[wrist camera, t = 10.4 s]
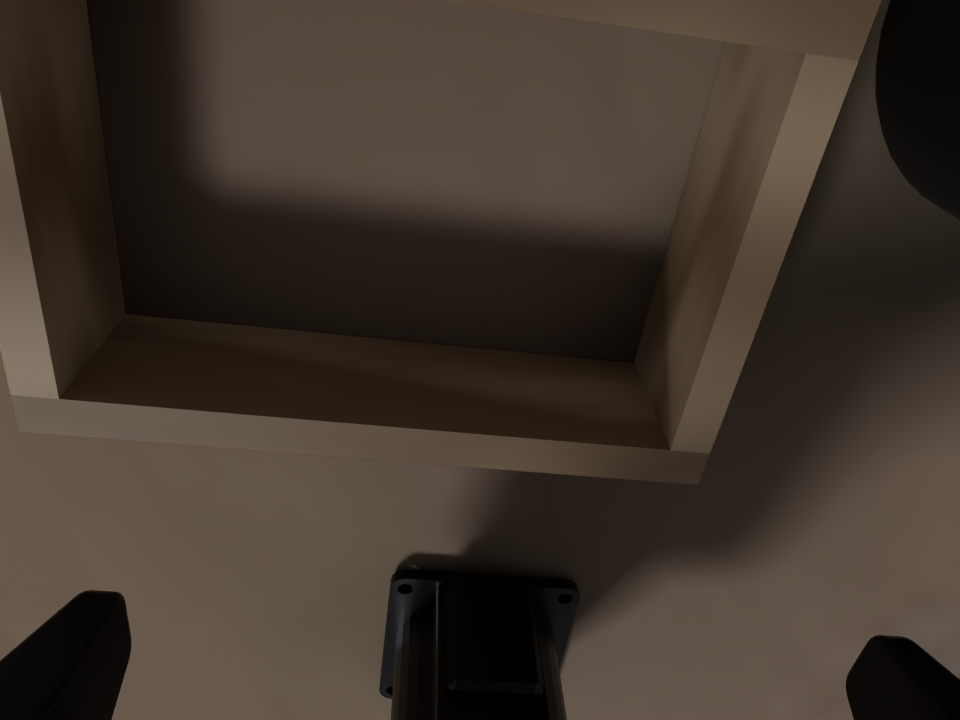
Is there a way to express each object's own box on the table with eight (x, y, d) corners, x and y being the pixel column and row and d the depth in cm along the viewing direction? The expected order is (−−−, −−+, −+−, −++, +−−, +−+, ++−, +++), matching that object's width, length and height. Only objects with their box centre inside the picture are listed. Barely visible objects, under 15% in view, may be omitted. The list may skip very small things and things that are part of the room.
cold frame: (658, 394, 22) (698, 485, 18) (90, 342, 20) (19, 431, 17) (788, -20, 16) (881, 0, 13) (15, -142, 14) (-117, -157, 11)
